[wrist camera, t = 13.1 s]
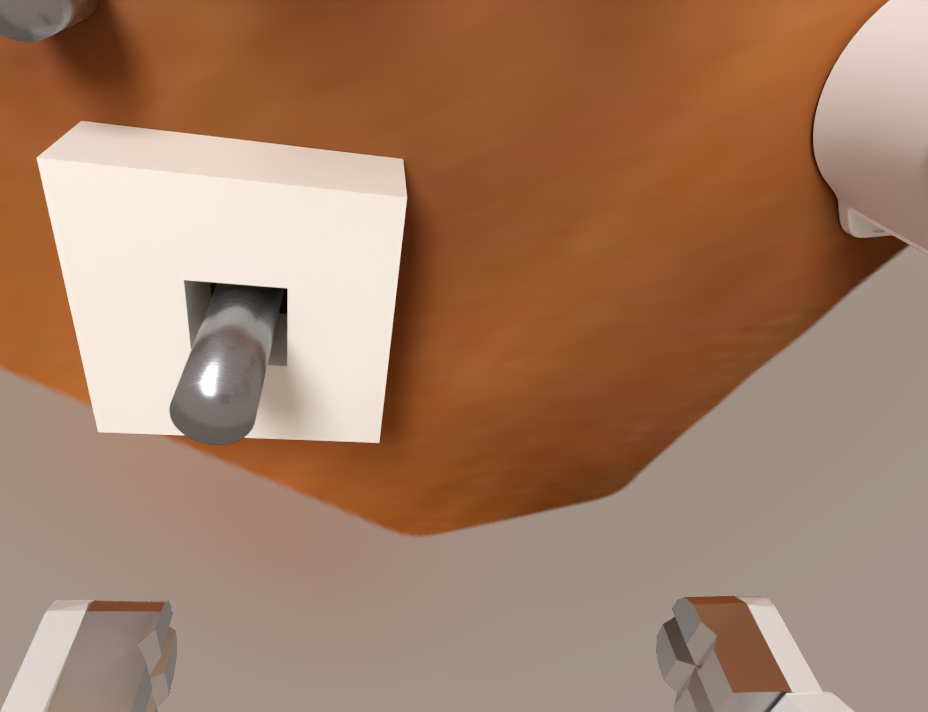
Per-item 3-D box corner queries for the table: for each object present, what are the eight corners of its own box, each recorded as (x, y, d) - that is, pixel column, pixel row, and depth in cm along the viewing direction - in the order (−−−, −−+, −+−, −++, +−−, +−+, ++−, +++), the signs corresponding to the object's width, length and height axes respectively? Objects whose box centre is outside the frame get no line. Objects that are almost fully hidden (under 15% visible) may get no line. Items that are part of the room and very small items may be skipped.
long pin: (286, 251, 42) (254, 385, 31) (286, 303, 44) (256, 446, 33) (221, 245, 41) (165, 380, 30) (225, 298, 44) (173, 443, 32)
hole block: (403, 159, 39) (407, 197, 35) (378, 388, 50) (379, 442, 45) (81, 120, 36) (36, 157, 31) (126, 375, 46) (98, 432, 42)
